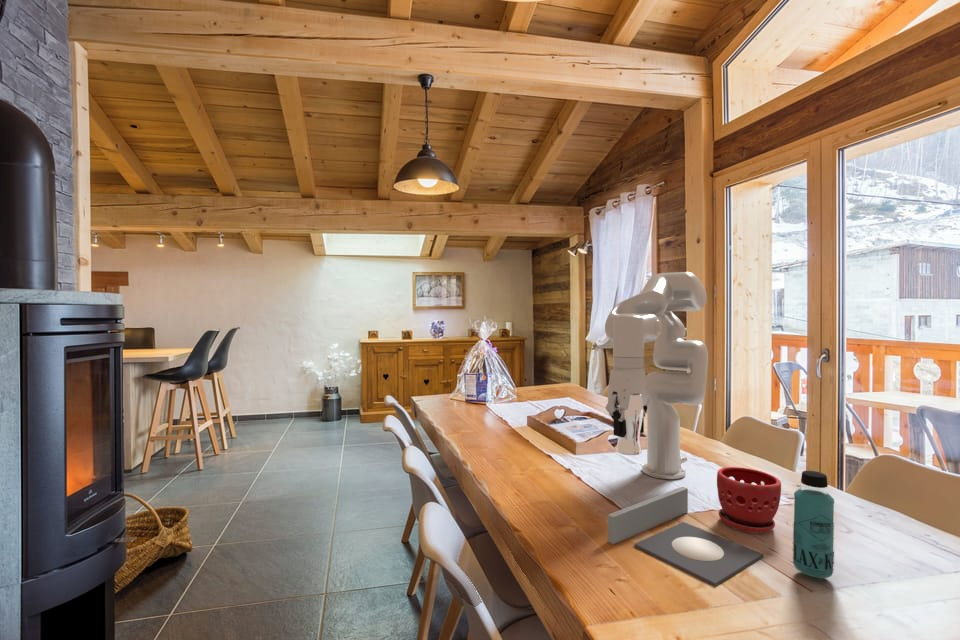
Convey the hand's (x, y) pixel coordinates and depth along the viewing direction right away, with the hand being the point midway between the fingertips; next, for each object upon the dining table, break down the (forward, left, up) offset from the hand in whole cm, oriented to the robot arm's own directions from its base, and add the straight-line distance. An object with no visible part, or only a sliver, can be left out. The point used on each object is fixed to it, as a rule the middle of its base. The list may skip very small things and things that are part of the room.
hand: (628, 433), depth 120 cm
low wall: (+3, +8, -20) cm, 22 cm away
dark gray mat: (+5, +21, -20) cm, 30 cm away
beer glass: (0, 0, -5) cm, 5 cm away
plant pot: (-16, +21, -20) cm, 33 cm away
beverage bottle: (-4, +39, -20) cm, 44 cm away
